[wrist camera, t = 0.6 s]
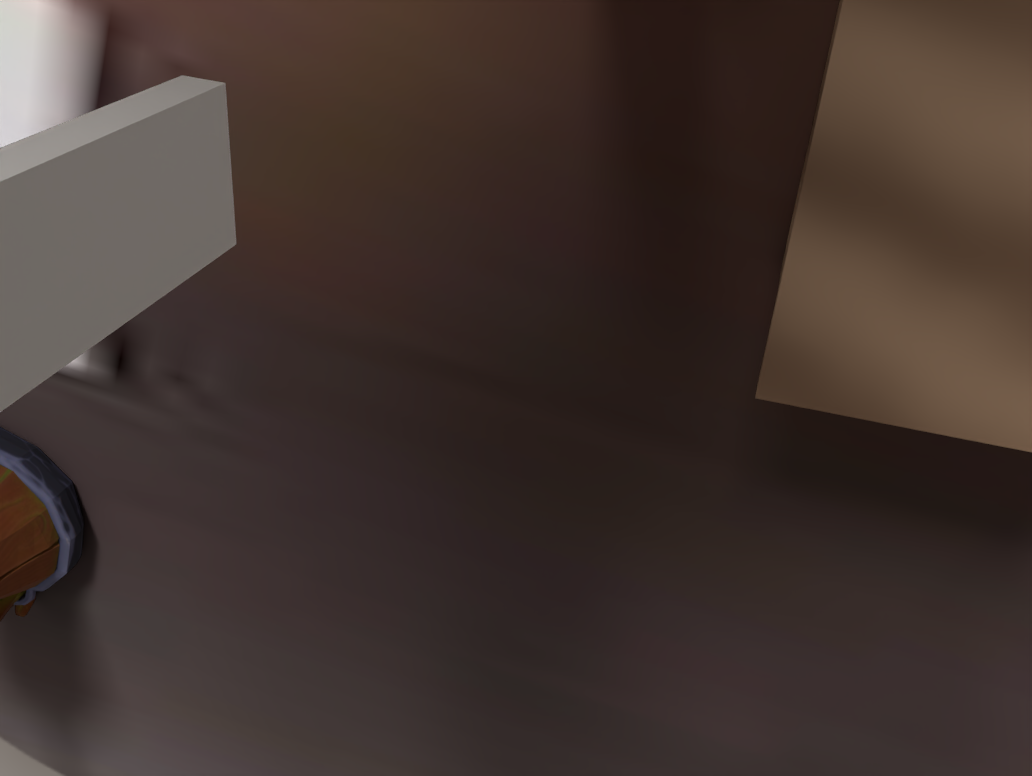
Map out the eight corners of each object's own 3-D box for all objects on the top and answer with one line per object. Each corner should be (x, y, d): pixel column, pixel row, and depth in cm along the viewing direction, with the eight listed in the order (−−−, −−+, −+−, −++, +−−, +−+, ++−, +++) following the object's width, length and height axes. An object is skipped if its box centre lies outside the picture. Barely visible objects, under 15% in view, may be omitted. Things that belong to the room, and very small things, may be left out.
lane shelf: (849, -73, 33) (851, -38, 25) (1236, -36, 31) (1381, 16, 23) (773, 278, 40) (754, 398, 32) (1087, 331, 38) (1156, 476, 29)
